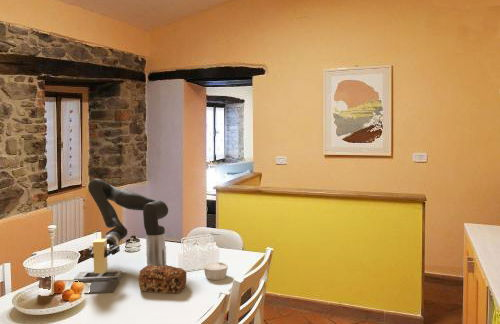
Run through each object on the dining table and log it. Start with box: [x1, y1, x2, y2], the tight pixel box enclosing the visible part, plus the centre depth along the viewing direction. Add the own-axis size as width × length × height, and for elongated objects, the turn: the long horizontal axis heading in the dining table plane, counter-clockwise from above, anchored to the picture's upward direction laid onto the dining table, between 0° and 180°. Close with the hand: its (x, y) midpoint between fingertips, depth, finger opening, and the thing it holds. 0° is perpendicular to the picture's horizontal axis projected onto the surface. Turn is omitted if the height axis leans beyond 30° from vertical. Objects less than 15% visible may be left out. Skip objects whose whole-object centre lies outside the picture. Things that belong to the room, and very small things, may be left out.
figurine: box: [37, 275, 56, 290], centre depth 185 cm, size 7×7×12 cm
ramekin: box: [203, 261, 229, 281], centre depth 203 cm, size 11×11×5 cm
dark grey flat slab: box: [73, 270, 124, 283], centre depth 203 cm, size 20×9×2 cm, turn 94°
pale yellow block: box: [92, 238, 109, 273], centre depth 189 cm, size 5×5×14 cm
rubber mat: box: [88, 280, 120, 295], centre depth 191 cm, size 12×12×1 cm
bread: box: [138, 265, 187, 294], centre depth 189 cm, size 19×11×10 cm, turn 80°
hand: (98, 255), depth 187 cm, fingers closed on pale yellow block, 4 cm apart
